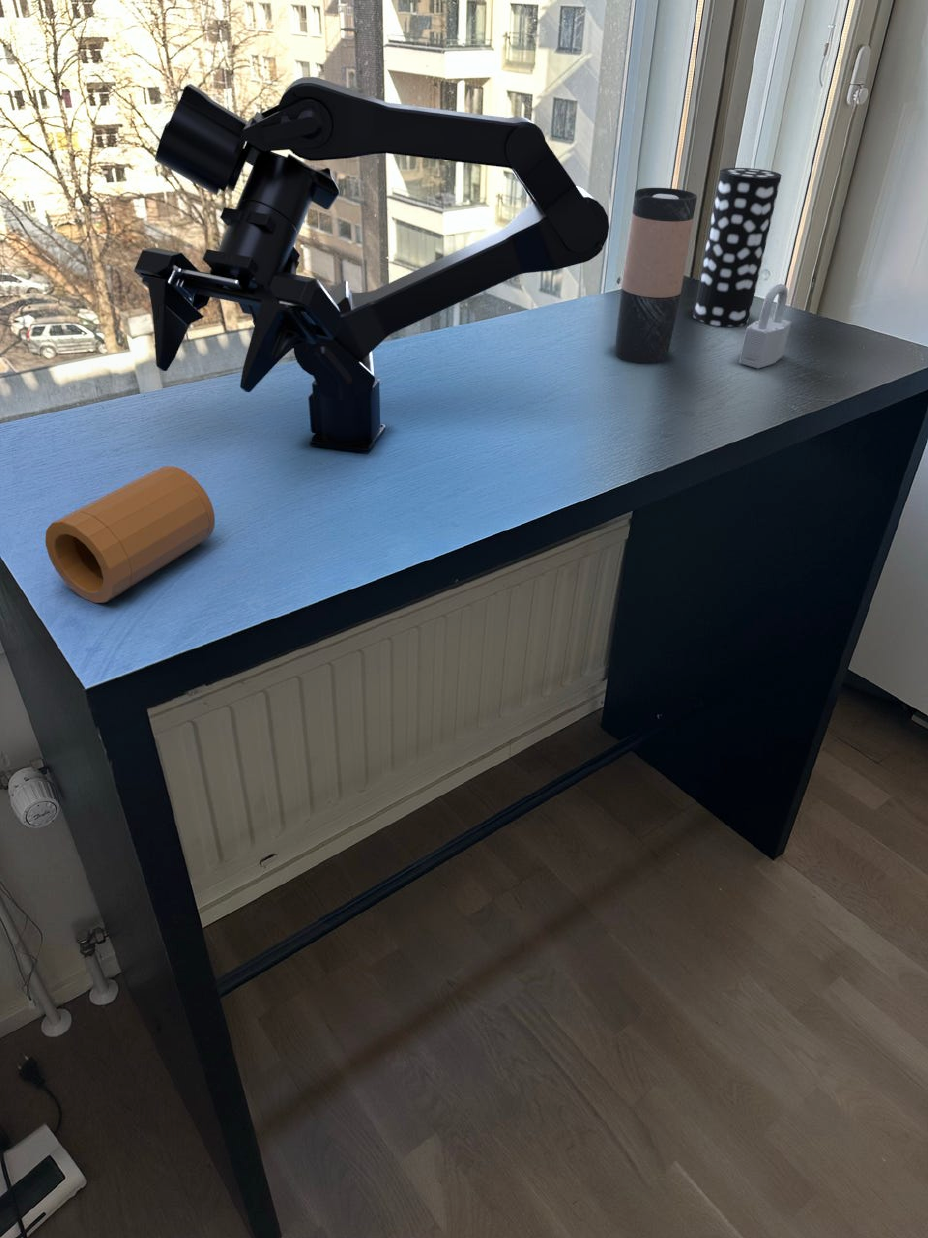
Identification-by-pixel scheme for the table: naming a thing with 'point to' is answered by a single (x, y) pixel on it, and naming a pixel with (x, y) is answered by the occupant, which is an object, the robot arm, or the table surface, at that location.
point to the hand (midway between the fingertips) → (201, 379)
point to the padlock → (767, 332)
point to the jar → (130, 533)
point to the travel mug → (653, 273)
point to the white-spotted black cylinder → (735, 245)
